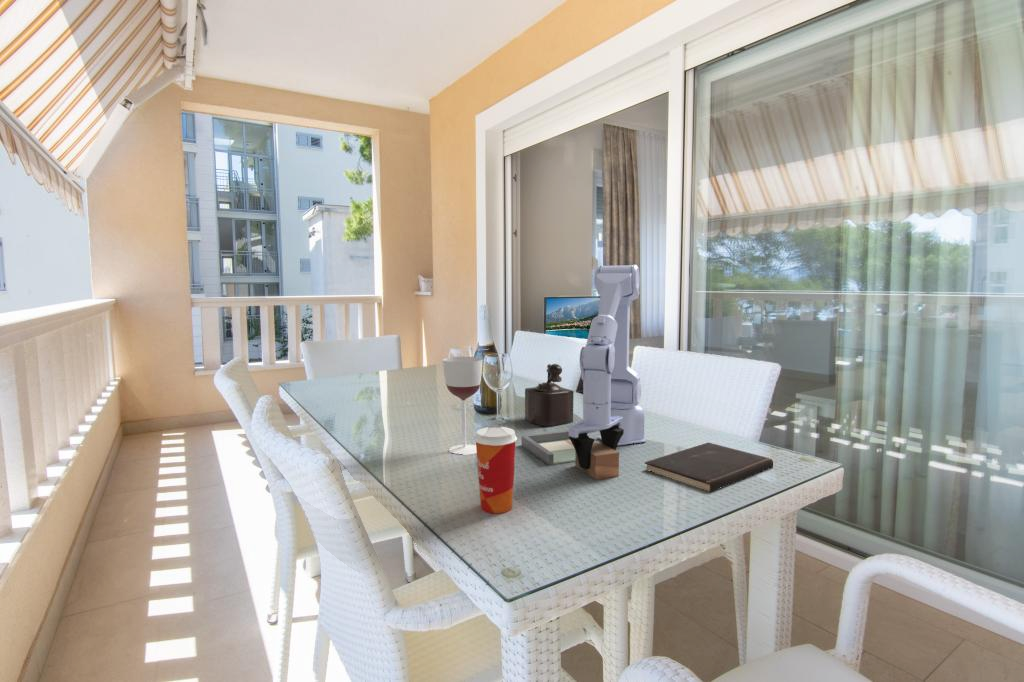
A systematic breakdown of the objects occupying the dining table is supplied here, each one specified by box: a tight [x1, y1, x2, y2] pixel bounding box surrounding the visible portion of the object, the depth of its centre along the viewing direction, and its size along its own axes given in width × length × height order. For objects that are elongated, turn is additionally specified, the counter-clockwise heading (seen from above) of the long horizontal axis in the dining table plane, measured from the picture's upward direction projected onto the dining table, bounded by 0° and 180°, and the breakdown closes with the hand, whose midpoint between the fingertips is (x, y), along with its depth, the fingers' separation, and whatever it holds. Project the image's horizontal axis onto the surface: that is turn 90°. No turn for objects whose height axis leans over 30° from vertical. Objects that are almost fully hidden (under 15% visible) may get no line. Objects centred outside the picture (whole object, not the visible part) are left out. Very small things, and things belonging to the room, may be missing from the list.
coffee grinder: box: [524, 363, 574, 428], centre depth 156 cm, size 16×11×18 cm
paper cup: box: [473, 426, 518, 515], centre depth 99 cm, size 8×8×14 cm
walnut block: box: [574, 440, 620, 480], centre depth 118 cm, size 9×5×5 cm, turn 21°
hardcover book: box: [644, 442, 774, 493], centre depth 119 cm, size 16×23×2 cm
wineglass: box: [442, 356, 483, 456], centre depth 132 cm, size 9×10×22 cm
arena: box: [521, 429, 575, 466], centre depth 132 cm, size 16×16×2 cm
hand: (596, 464), depth 118 cm, fingers closed on walnut block, 7 cm apart
